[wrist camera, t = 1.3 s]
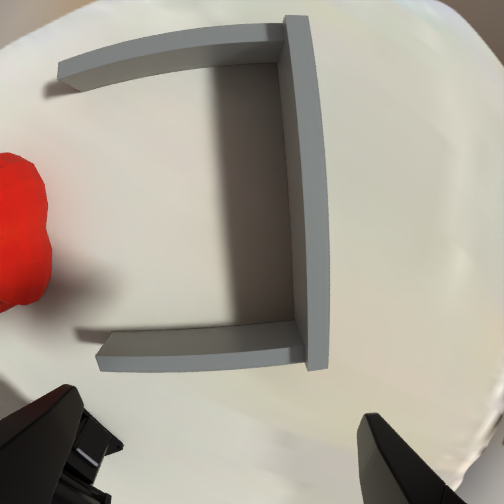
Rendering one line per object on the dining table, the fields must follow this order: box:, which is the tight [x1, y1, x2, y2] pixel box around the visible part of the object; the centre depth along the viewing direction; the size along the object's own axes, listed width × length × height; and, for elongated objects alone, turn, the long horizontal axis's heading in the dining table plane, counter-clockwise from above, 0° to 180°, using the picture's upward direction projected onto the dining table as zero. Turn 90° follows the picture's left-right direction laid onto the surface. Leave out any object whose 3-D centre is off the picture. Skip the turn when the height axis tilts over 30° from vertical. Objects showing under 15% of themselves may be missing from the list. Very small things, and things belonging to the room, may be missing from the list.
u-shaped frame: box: [57, 15, 330, 373], centre depth 17 cm, size 14×19×4 cm
